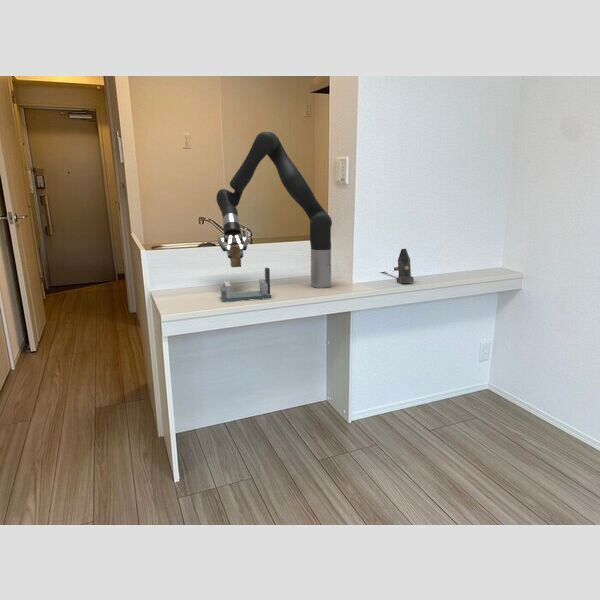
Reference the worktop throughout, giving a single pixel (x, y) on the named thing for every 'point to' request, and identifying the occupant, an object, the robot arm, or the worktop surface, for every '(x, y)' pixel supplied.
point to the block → (235, 256)
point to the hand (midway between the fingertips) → (235, 257)
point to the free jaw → (265, 283)
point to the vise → (240, 294)
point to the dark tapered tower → (404, 268)
